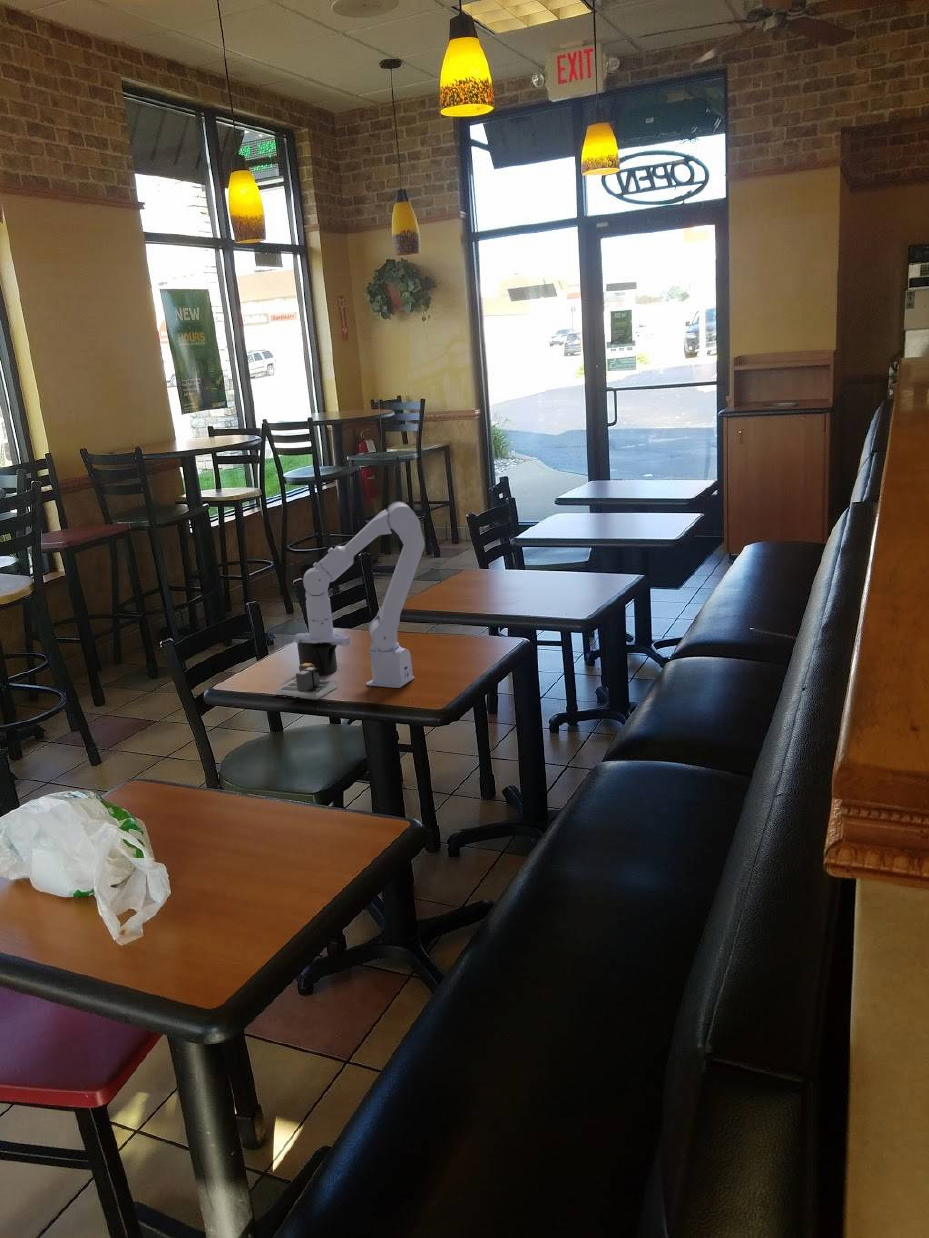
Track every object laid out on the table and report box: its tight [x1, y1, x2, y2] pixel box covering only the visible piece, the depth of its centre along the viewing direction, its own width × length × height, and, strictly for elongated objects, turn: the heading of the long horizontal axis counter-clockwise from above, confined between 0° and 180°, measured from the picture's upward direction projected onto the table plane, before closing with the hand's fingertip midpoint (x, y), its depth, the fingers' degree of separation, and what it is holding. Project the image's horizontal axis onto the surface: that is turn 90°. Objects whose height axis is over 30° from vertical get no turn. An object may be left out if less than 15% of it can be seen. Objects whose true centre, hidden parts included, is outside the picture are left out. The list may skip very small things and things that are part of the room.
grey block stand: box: [274, 667, 338, 700], centre depth 232 cm, size 12×9×6 cm
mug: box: [296, 642, 338, 677], centre depth 249 cm, size 9×12×9 cm
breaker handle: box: [298, 663, 315, 672], centre depth 235 cm, size 3×2×4 cm
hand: (325, 672), depth 232 cm, fingers closed
